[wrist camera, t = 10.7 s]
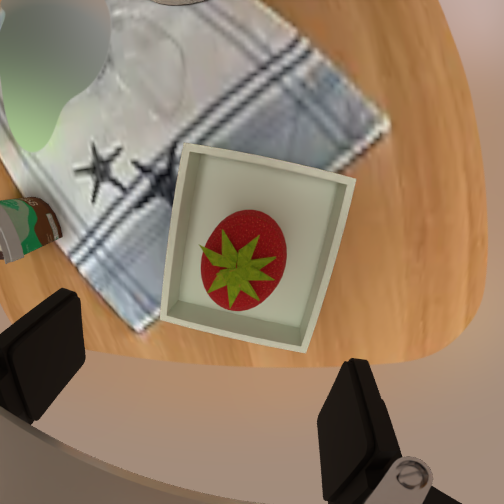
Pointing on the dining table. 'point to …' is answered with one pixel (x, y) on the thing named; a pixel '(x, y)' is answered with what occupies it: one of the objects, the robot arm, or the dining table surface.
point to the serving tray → (289, 220)
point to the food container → (26, 227)
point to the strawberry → (243, 260)
